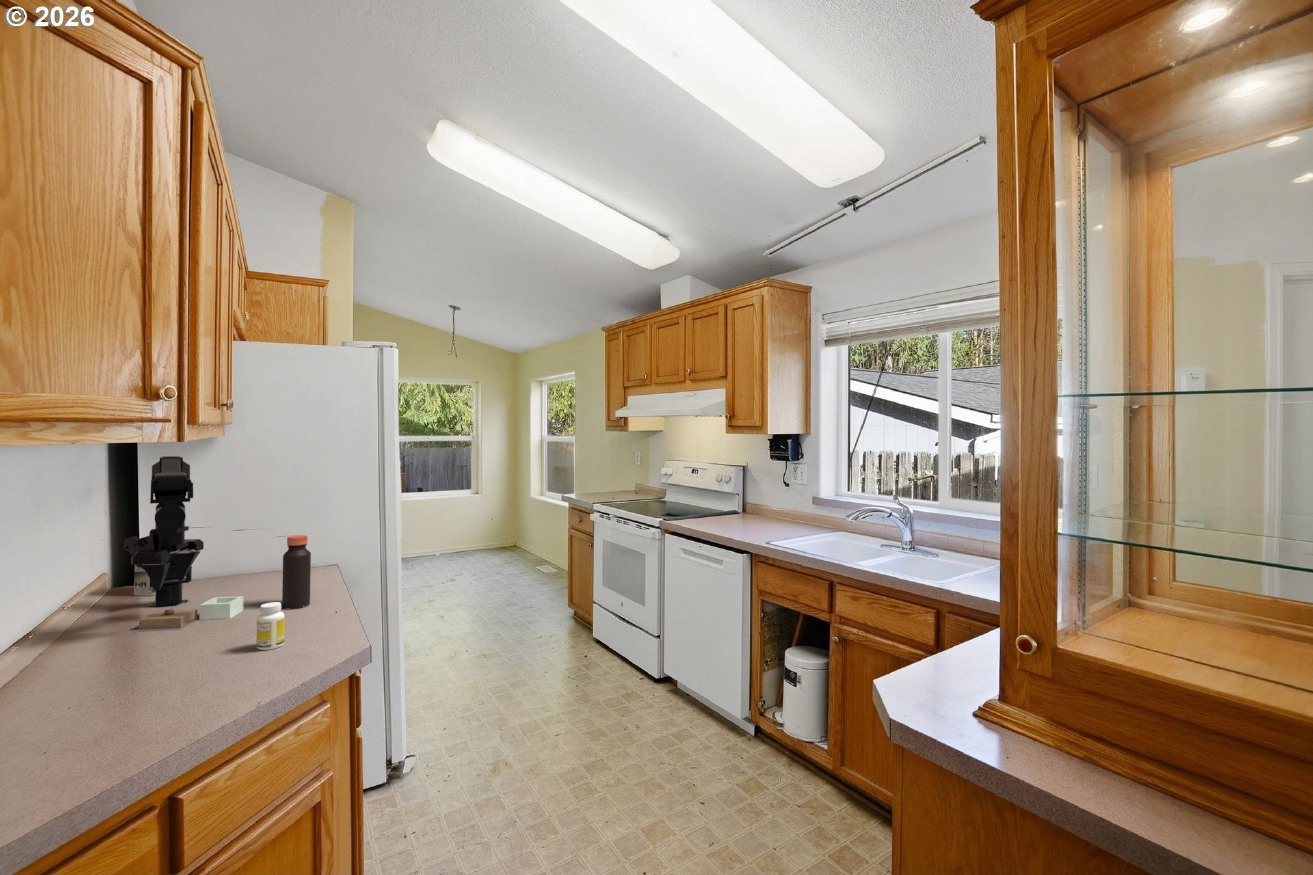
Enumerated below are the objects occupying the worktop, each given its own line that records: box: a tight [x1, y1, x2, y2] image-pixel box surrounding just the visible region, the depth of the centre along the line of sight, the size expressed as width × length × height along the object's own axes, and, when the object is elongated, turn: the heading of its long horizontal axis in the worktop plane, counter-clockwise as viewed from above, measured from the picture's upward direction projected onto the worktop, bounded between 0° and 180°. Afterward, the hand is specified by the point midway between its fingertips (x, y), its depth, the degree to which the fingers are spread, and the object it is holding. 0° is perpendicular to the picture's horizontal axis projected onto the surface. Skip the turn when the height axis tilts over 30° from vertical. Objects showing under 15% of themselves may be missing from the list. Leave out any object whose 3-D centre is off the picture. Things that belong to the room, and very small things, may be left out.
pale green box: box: [198, 595, 244, 621], centre depth 152 cm, size 7×7×4 cm
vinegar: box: [281, 534, 312, 609], centre depth 163 cm, size 7×7×20 cm
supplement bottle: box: [256, 601, 286, 651], centre depth 132 cm, size 5×5×10 cm
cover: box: [138, 608, 198, 630], centre depth 144 cm, size 7×9×4 cm
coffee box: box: [133, 552, 156, 597], centre depth 174 cm, size 9×6×16 cm
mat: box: [132, 616, 199, 633], centre depth 144 cm, size 10×10×1 cm
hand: (169, 584), depth 144 cm, fingers open, 9 cm apart
